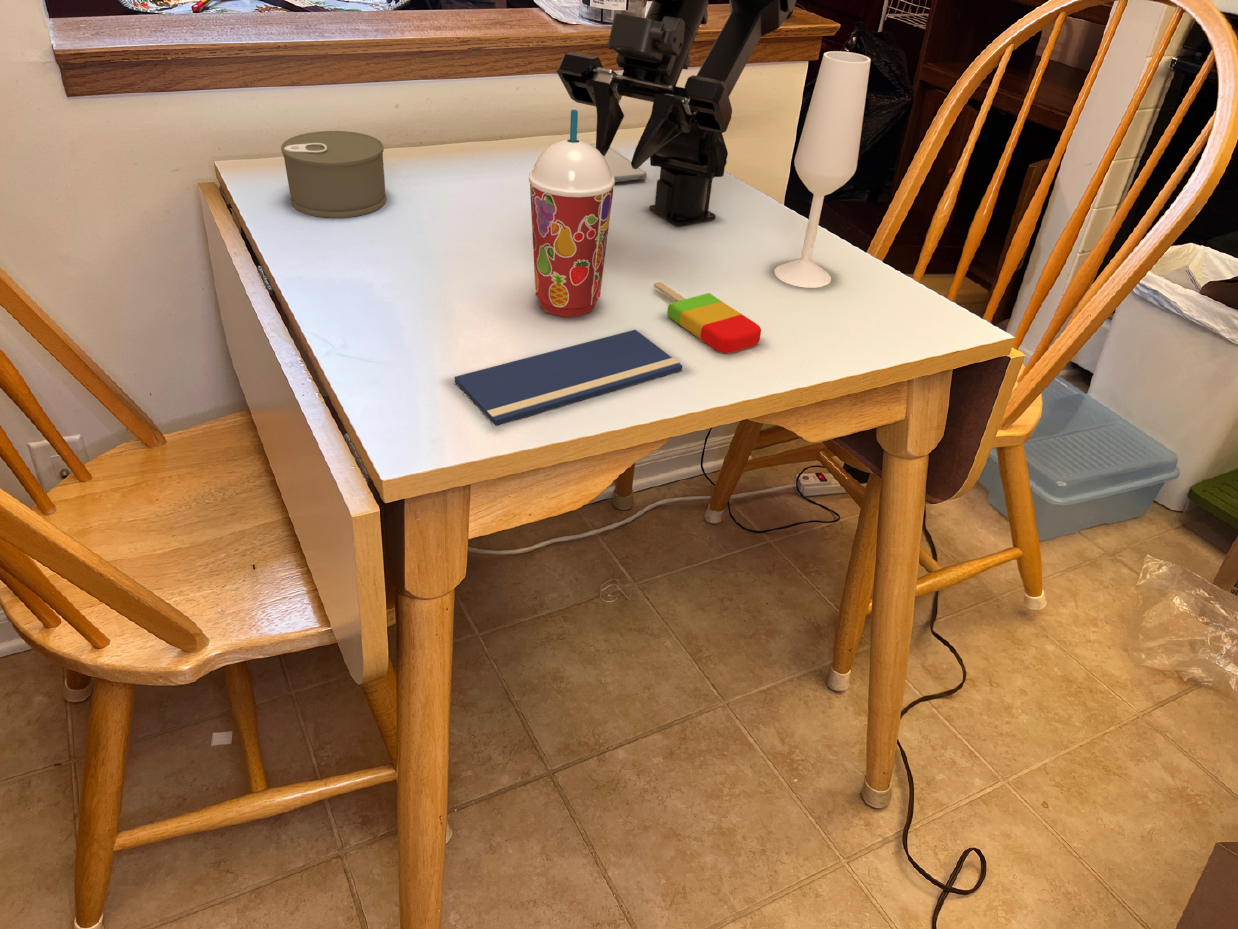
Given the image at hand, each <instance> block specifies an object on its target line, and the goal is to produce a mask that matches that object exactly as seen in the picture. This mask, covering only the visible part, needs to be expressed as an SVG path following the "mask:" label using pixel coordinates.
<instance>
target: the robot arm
mask: <svg viewBox="0 0 1238 929" xmlns="http://www.w3.org/2000/svg"><path fill="white" fill-rule="evenodd" d="M650 1H651V2H650V3H651V4H650V5H649V8H648V11H647V13H646V15H645V17H640V16H635V15H628V14H623V13H615V14H614V16H613V20H612V25H611V27H610V32H609V36H608V41H607V46H606V47H607V49H609V50H614V51H615V52H616V53H617V56H616V59H615V62H616V64H617V67H618V68H622V70H623V71H622V74H618V73H617V72H615V71H614V69H613V70H612V69H610V68H604V65H603V64H602V60H601V59H600V57H599V56H595V55H590V54H585V53H580V52H575V51H570V52H566V53H565V54H564V55H563V56H562V57H561V59H560V61H559V64H558V66H557V68H556V74H557V76H558V77H559V79H560V81H561V83H562V84H563V87H564V89H565V90H566V92H567V94H568V95H569V98H570V99H571V100H572V101H574V102H576V103H577V104H581V105H585V106H586V105H587V106H592V107H595V109H596V131H595V132H596V133H595V144H596V149H597V150H598V151H599V152H600V153H601V154H602V155H603V156H605V155H606V153H607V152H608V150H609V147H610V148H611V145H612V143H613V141H614V139H615V137H616V135H617V132H618V130H619V128H620V127H621V124H622V122H623V120H624V117H625V114H624V112H623V109H622V108H621V105H620V101H621V100H622V98H623V97H626V98H631V99H635V100H641V101H645V102H651V103H652V106H651V108H652V109H651V113H650V116H649V119H648V121H647V122H646V125H645V127H644V129H643V132H642V134H641V136H640V139H639V140H638V143H637V145H636V147H635V150H634V151H633V152H634V153H633V155H632V159H631V161H630V162H631V166H632V168H633V169H637V168H641V166H642V165H643V164H644V163H646V161H648V160H649V163H650V164H649V165H650V166H651V167H658V168H660V169H659V179H657V181H656V186H655V199H654V204H652V205H651V204H650V205H649V206H648V207H649V208H648V210H649V211H651V212H652V213H653V214H656V215H657V216H659V217H661V218H662V219H664V220H665V221H667V222H669V223H670V224H672V225H674V226H675V227H682V226H687V225H693V224H698V223H703V222H706V221H707V222H708V221H711V220H716V217H717V215H716V214H715V213H714V212H711V211H710V209H709V208H710V202H711V201H710V200H711V194H712V186H713V179H714V178H723V176H725V169H726V165H727V163H728V160H727V159H728V156H729V152H728V148H727V145H726V142H725V139H724V135H723V134H724V133H726V132H727V130H728V128H729V126H730V122H731V120H732V116H733V115H732V114H733V108H732V104H731V99H730V96H731V94H732V92H733V90H734V88H735V86H736V84H737V82H738V80H739V79H740V77H741V75H742V73H743V71H744V69H745V67H746V65H747V63H748V62H749V60H750V58H751V56H752V54H753V53H754V50H755V49H756V46H757V45H758V43H759V41H760V40H761V38H762V37H765V36H766V35H769V34H770V33H772V32H775V31H777V30H778V29H780V28H781V26H782V25H783V23H784V22H785V20H786V19H787V17H788V16H789V14H790V13H792V12H793V10H794V8H795V6H796V4H797V0H729V12H730V14H729V17H728V18H727V20H725V23H724V25H723V26H722V28H721V31H720V32H719V34H718V36H717V38H716V39H715V41H714V42H713V45H712V46H711V47H710V48H711V49H710V50H709V51H708V54H707V56H706V57H705V59H704V61H703V63H702V64H701V66H700V67H699V70H698V72H697V74H696V75H694V74H692V75H691V76H689V77H687V79H686V82H685V84H684V87H683V86H677V84H678V81H679V79H680V78H681V77H680V76H681V73H682V72H683V70H688V69H689V67H690V64H691V59H690V55H689V54H690V51H691V49H692V46H693V44H694V41H695V39H696V36H697V34H698V32H699V29H700V26H701V25H707V23H708V17H709V12H708V6H709V0H650Z"/></svg>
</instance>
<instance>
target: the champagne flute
mask: <svg viewBox="0 0 1238 929" xmlns="http://www.w3.org/2000/svg"><path fill="white" fill-rule="evenodd" d="M871 62H872V61H871V58H870V57H869V56H867V55H864V54H860V53H856V52H849V51H841V50H840V51H839V50H836V51H835V50H833V51H832V50H831V51H827V52H824V53H823V55H822V60H821V63H820V66H819V69H818V74H817V77H816V81H815V85H814V88H813V92H812V95H811V99H810V103H809V106H808V110H807V113H806V117H805V120H804V123H803V128H802V131H801V135H800V138H799V142H798V146H797V149H796V153H795V156H794V160H793V161H794V167H795V168H794V169H795V171H796V174H797V176H798V178H799V179H800V181H801V182H802V183H803V184H804V186H805V187H806V188H807V190H808V191H809V192H810V193H812V194H813V196H812V201H811V206H810V211H809V215H808V222H807V225H806V231H805V236H804V240H803V246H802V251H801V256H800V258H799V259H798V258H797V259H796V260H792V261H789V262H786V263H783V264H779V265H778V266H777V267H776V268H774V270H773V272H774V276H775V277H776V278H777V279H778V280H780V281H781V282H783V283H785V284H787V285H790V286H794V287H799V288H805V289H815V288H816V289H817V288H822V287H826V286H828V285H829V284H830V283H831V282H832V277H831V275H830V274H829V273H828V272H827V271H826V270H824V269H823V268H822V267H820V266H819V265H818V264H816V263H815V262H814V261H812V257H813V253H814V248H815V242H816V239H817V238H816V237H817V232H818V228H819V224H820V218H821V213H822V208H823V204H824V199H825V196H827V195H830V194H832V193H834V192H835V191H837V190H838V189H840V188H841V187H843V186H845V185H846V183H847V182H849V181H850V180H851V178H852V177H853V176H854V175H855V174H856V171H857V168H858V160H859V152H860V145H861V136H862V130H863V122H864V113H865V107H866V99H867V92H868V84H869V76H870V70H871V69H870V68H871Z"/></svg>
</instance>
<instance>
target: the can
mask: <svg viewBox="0 0 1238 929" xmlns="http://www.w3.org/2000/svg"><path fill="white" fill-rule="evenodd" d="M280 150H281V154H282V155H283V159H284V166H285V172H286V178H287V179H286V180H287V184H288V191H289V195H290V203H291V206H292V207H293V208H294V209H295V210H297V211H298V212H300V213H302V214H305V215H309V216H313V217H318V218H319V217H320V218H327V219H329V218H331V219H342V218H343V219H344V218H353V217H361V216H365V215H368V214H371V213H374V212H376V211H378V210H379V209H381V208H383V207H384V206H385V205H386V203H387V195H386V194H387V193H386V180H385V170H384V169H385V167H384V150H385V148H384V144H383V143H382V141H381V140H380V139H378V138H376V137H374V136H371V135H368V134H365V133H360V132H355V131H347V130H344V131H343V130H322V131H311V132H306V133H302V134H298V135H295V136H292V137H290V138H288V139H286V140H285V141H284V142H282V143H281V147H280Z"/></svg>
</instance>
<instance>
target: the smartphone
mask: <svg viewBox="0 0 1238 929" xmlns="http://www.w3.org/2000/svg"><path fill="white" fill-rule="evenodd" d="M590 144H591V145H593V146H594V147H595V148H596V143H590ZM604 158H605V160H606V161H607V164H608V166H609V169H610V173H611V174H612V175H613V176H614V178H615V183H616V182H618V183H619V182H629V181H636V180H637V181H638V180H644V179H647V176H648V173H647V172H646V171H644V170H643V169H642V168H641V167H639V168H637V169H633V168H632V166H631V161H630V160H629V159H627V158H626V157H624V156H623V155H622V154H620V153H619V152H617V151H616V150H614V148H612V147H611V146H610V147H609V150H608V152H607V153H606V155H605V156H604Z"/></svg>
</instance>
